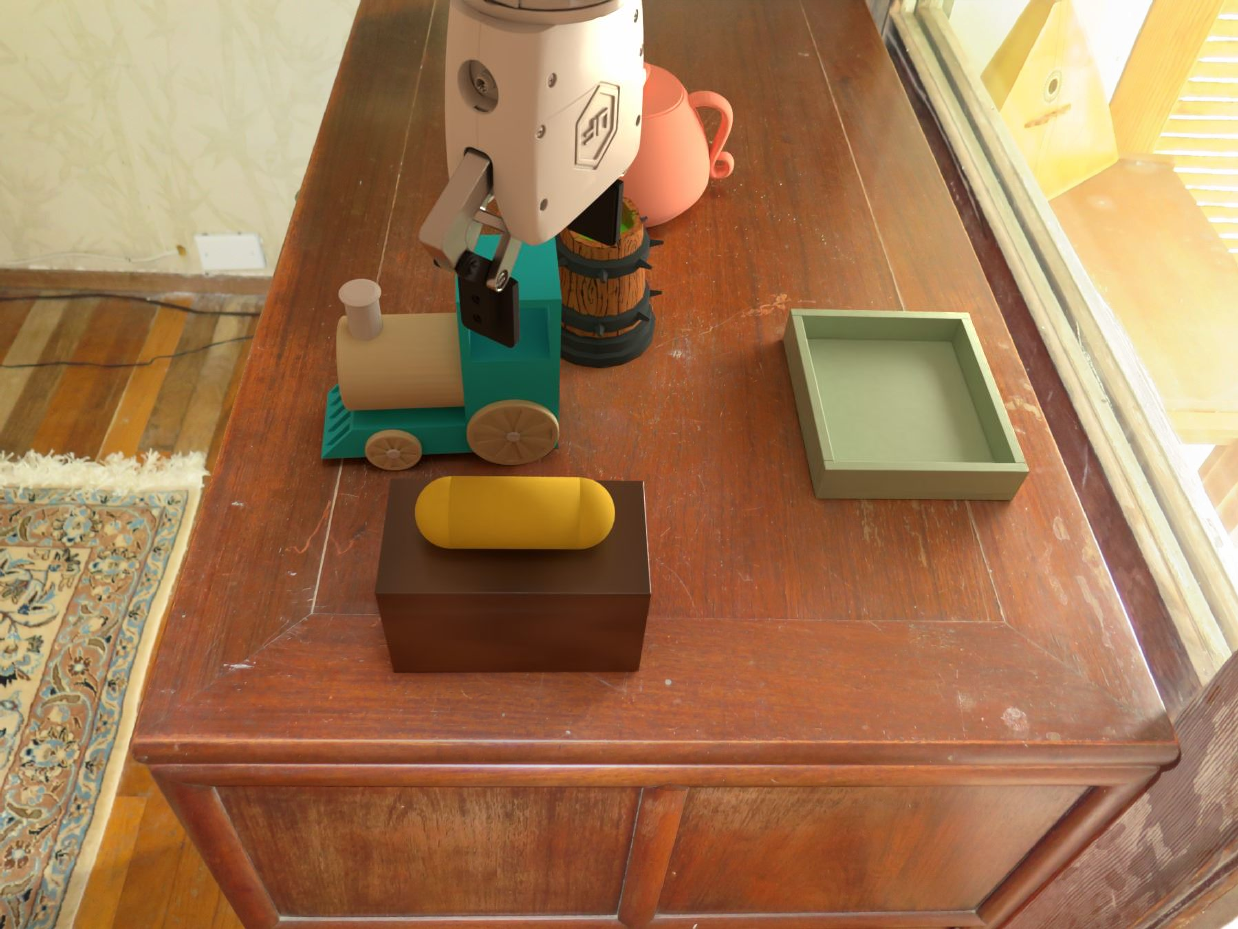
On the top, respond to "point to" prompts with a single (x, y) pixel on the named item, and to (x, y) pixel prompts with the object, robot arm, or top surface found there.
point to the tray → (900, 407)
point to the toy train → (448, 376)
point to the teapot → (674, 148)
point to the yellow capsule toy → (514, 512)
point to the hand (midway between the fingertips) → (544, 282)
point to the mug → (606, 294)
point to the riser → (514, 596)
